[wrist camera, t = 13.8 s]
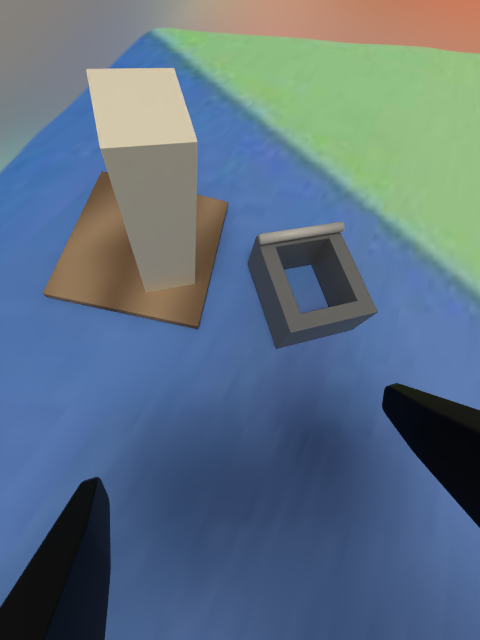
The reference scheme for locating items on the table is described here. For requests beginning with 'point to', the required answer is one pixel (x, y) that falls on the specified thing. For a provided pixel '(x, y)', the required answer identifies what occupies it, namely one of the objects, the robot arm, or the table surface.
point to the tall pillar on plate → (150, 168)
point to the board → (131, 263)
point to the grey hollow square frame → (332, 273)
